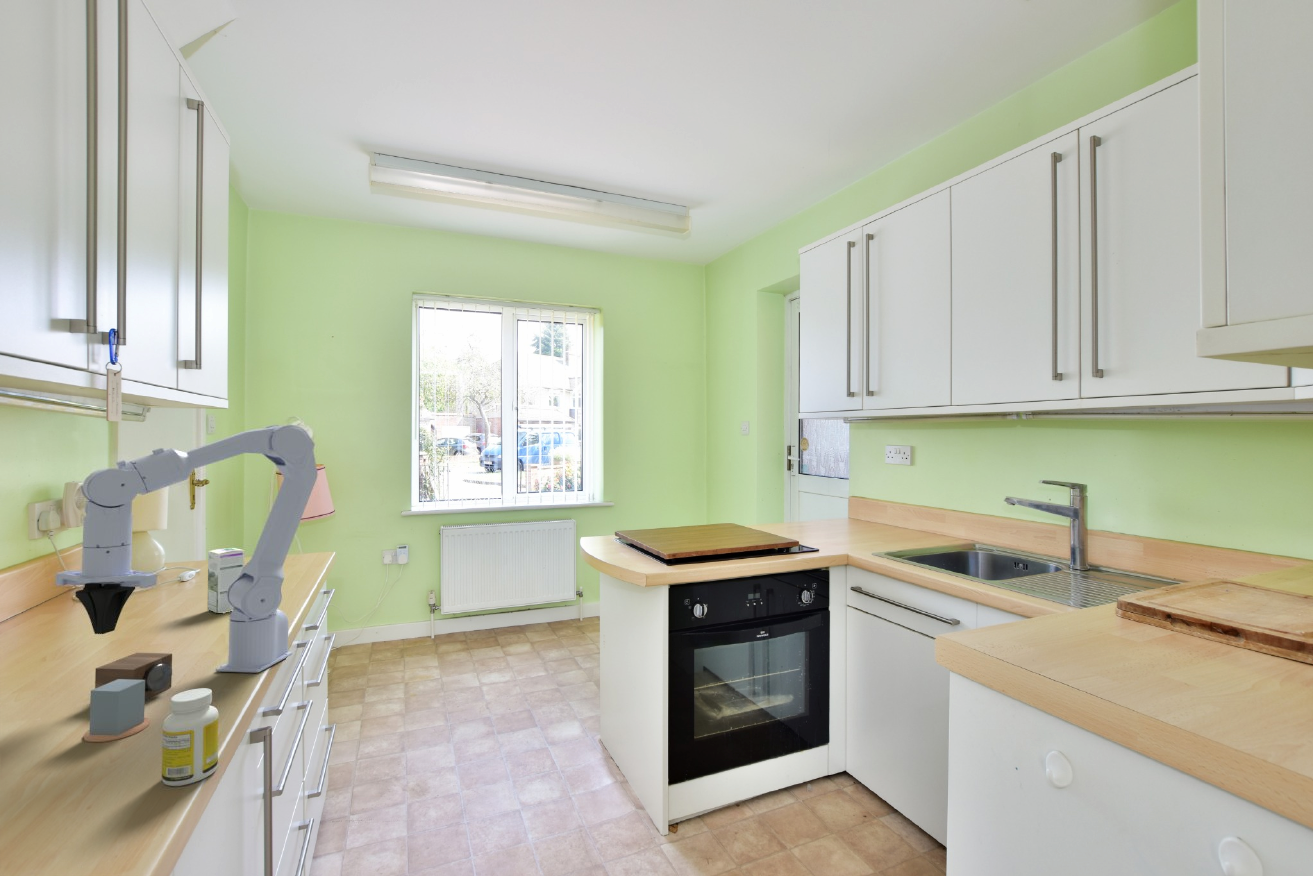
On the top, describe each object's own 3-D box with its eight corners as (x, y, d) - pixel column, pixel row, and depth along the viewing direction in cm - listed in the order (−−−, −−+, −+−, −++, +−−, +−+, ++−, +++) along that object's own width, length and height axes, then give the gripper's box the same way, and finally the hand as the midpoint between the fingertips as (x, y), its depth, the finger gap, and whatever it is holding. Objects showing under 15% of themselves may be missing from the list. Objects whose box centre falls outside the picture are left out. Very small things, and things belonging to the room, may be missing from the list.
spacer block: (117, 721, 85) (118, 679, 85) (143, 722, 85) (145, 679, 85) (89, 734, 81) (90, 690, 81) (117, 735, 81) (118, 691, 81)
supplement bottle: (210, 758, 76) (212, 682, 76) (223, 773, 73) (225, 693, 73) (156, 776, 72) (158, 695, 72) (167, 793, 69) (169, 708, 69)
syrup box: (244, 609, 143) (246, 549, 143) (216, 615, 138) (218, 552, 138) (233, 605, 146) (235, 546, 146) (205, 611, 141) (207, 550, 141)
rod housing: (136, 685, 98) (137, 652, 98) (171, 687, 98) (172, 653, 98) (94, 704, 91) (95, 668, 91) (132, 705, 91) (133, 669, 91)
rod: (121, 683, 97) (122, 658, 97) (171, 684, 96) (172, 660, 96) (97, 693, 93) (98, 667, 93) (149, 695, 92) (150, 669, 92)
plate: (117, 718, 87) (117, 716, 87) (161, 719, 86) (162, 717, 86) (69, 741, 80) (69, 739, 80) (117, 743, 80) (117, 741, 80)
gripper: (35, 548, 89) (32, 638, 89) (129, 550, 89) (126, 641, 89) (82, 540, 96) (79, 624, 96) (169, 543, 96) (166, 627, 96)
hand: (104, 632), depth 93 cm, fingers closed
